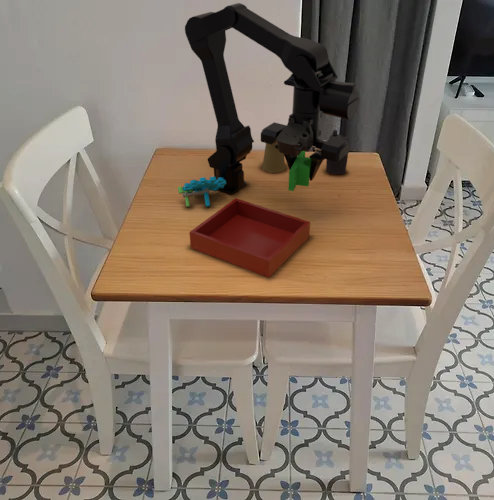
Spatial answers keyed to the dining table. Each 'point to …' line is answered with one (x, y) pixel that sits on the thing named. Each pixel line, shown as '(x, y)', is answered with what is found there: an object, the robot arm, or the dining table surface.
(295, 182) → the pipe clamp
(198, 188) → the blue toy dinosaur
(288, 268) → the dining table surface
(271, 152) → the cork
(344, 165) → the two-way radio
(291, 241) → the open red box
